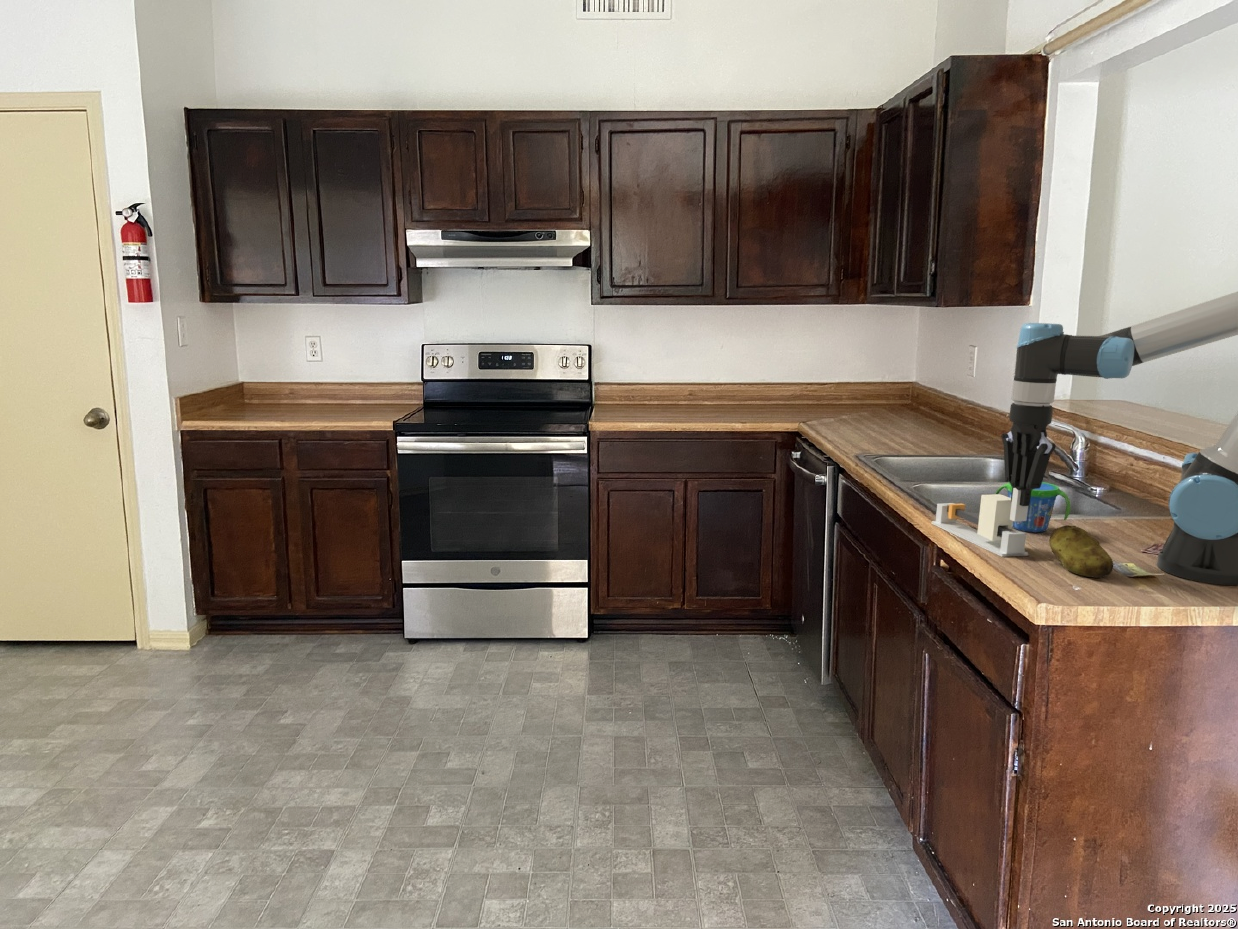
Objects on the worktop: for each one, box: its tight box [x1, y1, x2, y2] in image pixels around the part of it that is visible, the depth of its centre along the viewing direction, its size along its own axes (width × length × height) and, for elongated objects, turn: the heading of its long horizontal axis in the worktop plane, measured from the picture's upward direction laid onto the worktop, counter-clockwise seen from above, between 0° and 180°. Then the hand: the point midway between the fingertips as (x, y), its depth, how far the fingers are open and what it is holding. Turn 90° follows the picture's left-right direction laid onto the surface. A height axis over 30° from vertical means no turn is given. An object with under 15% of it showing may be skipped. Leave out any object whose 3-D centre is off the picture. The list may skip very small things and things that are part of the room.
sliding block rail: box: [931, 502, 1029, 558], centre depth 184 cm, size 25×6×6 cm, turn 13°
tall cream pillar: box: [977, 493, 1013, 541], centre depth 178 cm, size 5×4×8 cm
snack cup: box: [994, 481, 1071, 533], centre depth 193 cm, size 16×10×10 cm
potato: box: [1048, 525, 1114, 579], centre depth 164 cm, size 8×13×8 cm, turn 178°
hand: (1018, 520), depth 172 cm, fingers closed
